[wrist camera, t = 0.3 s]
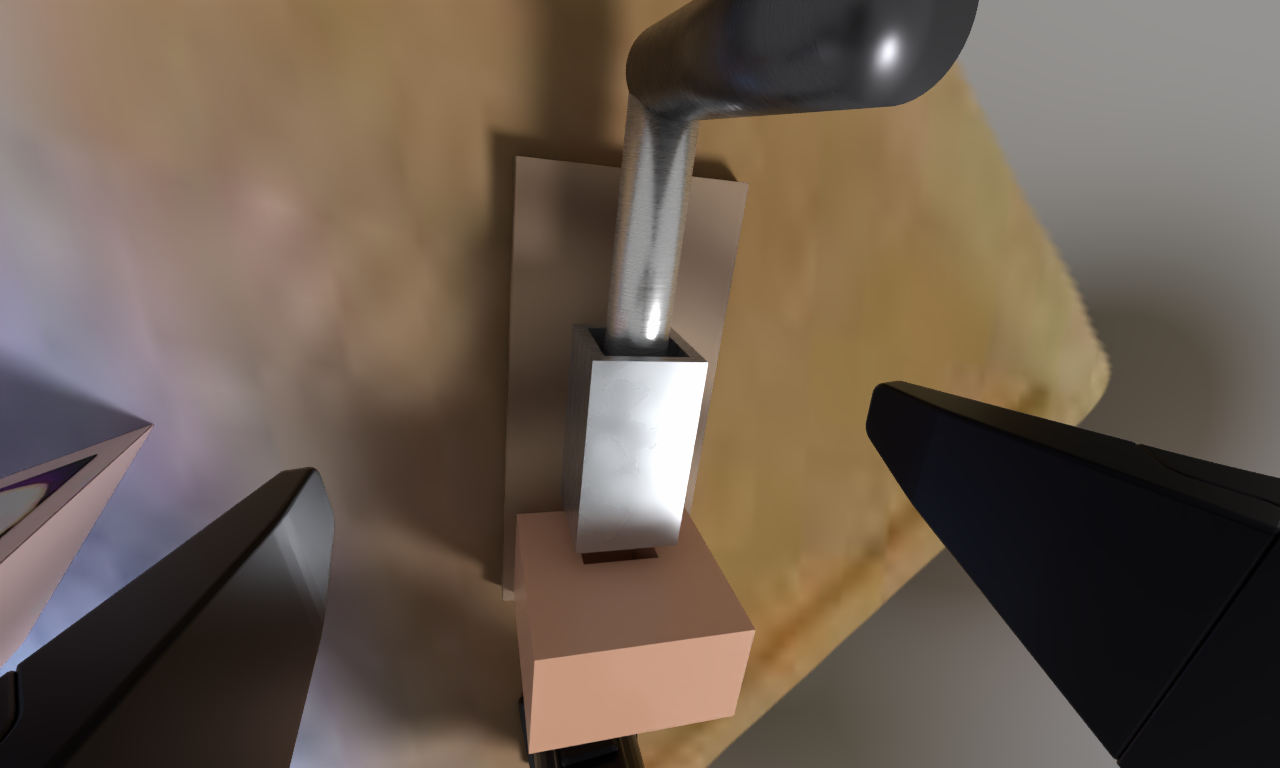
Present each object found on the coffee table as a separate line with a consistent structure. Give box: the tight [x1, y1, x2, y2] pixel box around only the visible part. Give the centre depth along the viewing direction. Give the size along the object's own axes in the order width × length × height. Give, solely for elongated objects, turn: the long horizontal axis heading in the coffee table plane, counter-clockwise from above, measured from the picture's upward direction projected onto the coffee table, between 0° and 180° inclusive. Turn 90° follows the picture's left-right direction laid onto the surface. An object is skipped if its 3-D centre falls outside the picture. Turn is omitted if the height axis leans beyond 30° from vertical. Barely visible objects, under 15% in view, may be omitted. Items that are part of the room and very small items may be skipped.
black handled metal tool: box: [603, 0, 979, 357], centre depth 16 cm, size 16×3×12 cm, turn 173°
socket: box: [514, 507, 755, 754], centre depth 24 cm, size 4×8×8 cm, turn 83°
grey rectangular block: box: [560, 324, 708, 554], centre depth 23 cm, size 8×4×4 cm, turn 173°
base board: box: [502, 155, 749, 601], centre depth 25 cm, size 20×9×1 cm, turn 173°
